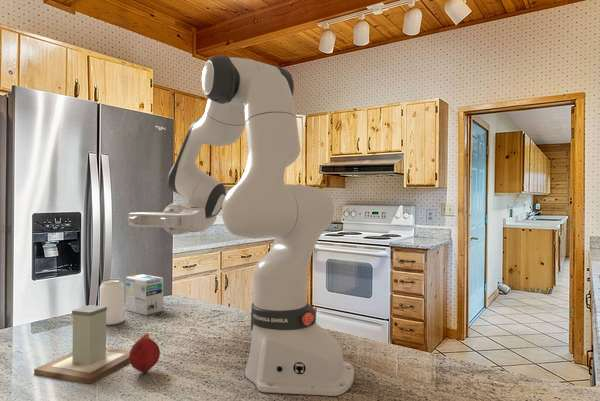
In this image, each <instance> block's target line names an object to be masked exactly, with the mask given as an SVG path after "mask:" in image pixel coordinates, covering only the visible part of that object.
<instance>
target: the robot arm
mask: <svg viewBox="0 0 600 401" xmlns="http://www.w3.org/2000/svg"><path fill="white" fill-rule="evenodd" d="M293 79H294V78H293V76H292V74H291V73H290V71H289V70H287V69H285V67H284V68H283V67H281V66H279V65H271V64H267V63H264V62H261V61H256V60H254V59H252V58H251V59H250V58H245V57H244V58H243V57H233V56H232V57H230V56H228V55H213V56H211V57H210V58H209V59H207V61H206V62H205V64H204V66H203V70H202V75H201V83H202V84H201V86H202V91H203V93H204V95H205V96H206V97H207V102H206V107H205V110H204V114H203V115H202V117H200V118H198V119H196V120H194V121H193V122H192V123H191V125H190V127H189V128H188V130H187V133H186V134H185V137H184V139H183V143H182V144H181V147H180V149H179V153H178V154H177V157H176V160H175V162H174V164H173V165H172V167H171V168H170V170H169V172H168V174H167V185H168V188H169V190H171V191H172V192H173V193H175V194H178V195H180V196H182V197H184V198H185V199H186V200H188V202H187V203H186V202H184V203H183V202H182V203H181V202H180V203H177V202H175V203H170V204H168V205H167V206H166V207H165V208H164V210H163V211H161V212H157V211H155V212H153V211H147V212H146V211H143V212H130V213H128V216H127V223H128V226H130V227H140V228H141V227H142V228H147V227H148V228H164V230H165V231H166V232H167V233H169V234H170V235H175V236H177V235H184V234H185V235H186V234H189V233H198V232H205V230H208V229H209V228H211V227H212V226H213V225H214V224H215V222H216V220H217V218H218V217H217V215H219V213H221V218H222V221H223V223H224V226H225V227H226V229H227V230H228V231H229V233H231V234H232V235H233V236H236V237H242V238H246V239H247V238H248V239H255V240H257V239H270V238H273V239H274V240H273V243H272V246H271V248H270V249H269V251H268V252H267V253H266V254H265V255H264V256H263V257H262V258H260V259H259V260H258V261H257V263H256V264H255V266H254V269H253V302H252V303H251V307H250V309H251V311H250V329H251V340H250V341H251V342H250V348H249V355H248V359H247V362H246V366H245V369H244V375H245V377H246V378H247V379H248V380H249V381H250V382H252V383H253V384H254V385H255V386H256V388H257V390H258V391H259V392H262V393H273V394H294V395H295V394H297V395H309V396H310V395H311V396H330V397H331V396H332V397H334V396H335V397H337V396H340V395H342V394H344V393H346V392H347V391H349V389H350V388H351V387H352V385H353V383H354V380H355V369H354V367H353V365H352V364H351V363H350V362H347V361H345V360H344V356H343V355H344V354H343V350H342V346H341V344H340V342H339V340H337V338H335V337H334V336H332V335H331V334H330V333H329V332H327V331H326V330H325V329H324V328H323V327H322V326H321V325H320V324H318V323H317V313H318V312H317V310H318V307H317V306H315V307H313V306H312V305H310V304H309V303H308V300H307V298H308V296H307V295H308V277H309V275H308V273H309V265H310V261H311V257H312V254H313V252H314V249H315V248H316V244H317V242H318V240H319V239H320V237H321V235H322V234H323V233H324V232H325V231H326V230H327V229H328V228H329V226H330V225H331V224H332V221H333V219H334V214H335V206H334V202H333V200H332V197H331V195H329V193H328V192H327V191H326V190H324V189H320V188H317V187H315V186H311V185H305V184H285V171H286V168H288V167H289V166H291V165H293V163H294V162H296V161H297V159H298V157H299V156H300V153H301V145H300V144H301V143H300V137H299V129H298V120H297V112H296V106H295V102H294V98H293V96H294V92H295V91H294V90H295V83H294V80H293ZM244 131H245V134H246V148H247V150H246V151H247V156H246V163H245V164H246V165H245V167H244V168H245V169H244V171H243V174H242V176H241V177H240V178H239V180H238V182H236V183H235V185H234V186H232V188H231V189H229V191H228V192H227V190H226V186H225V185H224V183H223V182H220V181H219V180H218V179H216V178H215V177H214V176H211V175H209V174H208V173H207V172H204V171H203V170H201V168H199V167H198V166H197V164H196V161H197V158H198V156H199V154H200V152H201V149H202V147H203V145H209V146H213V147H224V146H229V145H232V144H234V143H236V142H237V141H238V140H239V139H240V138H241V137H242V135H243V134H244Z"/></svg>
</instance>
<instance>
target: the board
mask: <svg viewBox="0 0 600 401" xmlns="http://www.w3.org/2000/svg"><path fill="white" fill-rule="evenodd" d="M130 351H131V350H125V349H118V348H111V347H106V357H105V358H103V359H101V360H99V361H97V362H95V363H93V364H91V365H84V364H78V363H72V354H73V351H72V352H70V353H68V354H66V355H63V356H61V357H58V358H57V359H54V360H52V361H50V362H48V363H45V364H42V365H40V366H39V367H35V368H34V369H33V371H34V372H33V374H34V375H38V376H42V375H43V376H44V377H48V376H49V377H50V378H54V379H55V378H56V379H60V380H61V379H62V380H67V381H72V382H78V383H84V384H93V383H94V382H96V381H97V380H99V379H101V378H103V377H105V376H107V375H108V374H110V373H112V372H114V371H116V370H117V369H120V368H121V367H123V366H125V365H126V364H128V363H130V360H129V354H130Z"/></svg>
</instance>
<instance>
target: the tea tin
mask: <svg viewBox="0 0 600 401" xmlns="http://www.w3.org/2000/svg"><path fill="white" fill-rule="evenodd" d="M106 311H107V307H104V306H100V305H93V304H88V305H85V306H82V307H79V308H76V309H73V310H71V315H72V352H73V354H72V363H78V364H84V365H91V364H93V363H95V362H97V361H99V360H101V359H103V358H105V357H106V348H107V325H106Z"/></svg>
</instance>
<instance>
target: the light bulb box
mask: <svg viewBox="0 0 600 401" xmlns="http://www.w3.org/2000/svg"><path fill="white" fill-rule="evenodd" d="M125 311H128V312H132V313H137V314H140V315H144V316H149V315H152V314H156V313H160V312H163V311H164V277H161V276H154V275H149V274H144V273H142V274H136V275H130V276H126V277H125Z"/></svg>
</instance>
